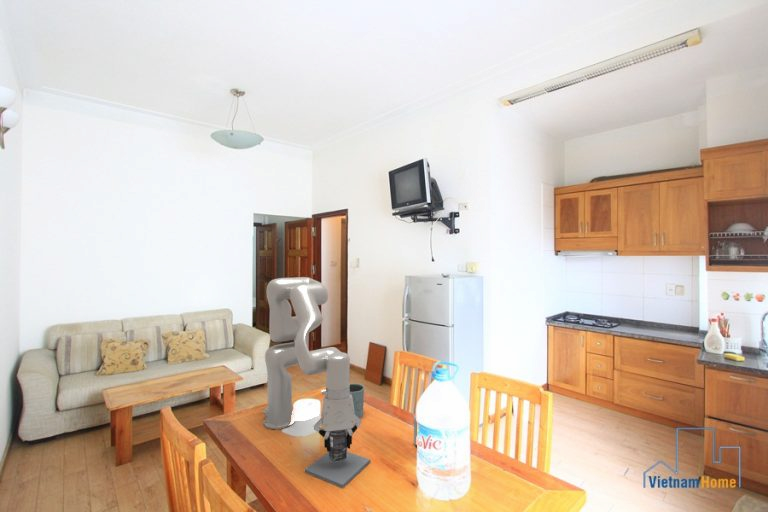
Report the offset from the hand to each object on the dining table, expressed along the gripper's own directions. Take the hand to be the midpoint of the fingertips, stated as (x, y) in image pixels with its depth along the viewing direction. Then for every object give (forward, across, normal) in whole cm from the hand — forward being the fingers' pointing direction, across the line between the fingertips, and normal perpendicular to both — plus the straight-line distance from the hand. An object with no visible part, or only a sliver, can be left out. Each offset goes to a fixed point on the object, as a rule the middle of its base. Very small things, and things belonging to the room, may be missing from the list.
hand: (338, 447), depth 115 cm
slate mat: (+6, 0, 0) cm, 6 cm away
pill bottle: (+3, 0, 0) cm, 3 cm away
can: (+7, +32, +6) cm, 33 cm away
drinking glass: (+7, +11, +35) cm, 38 cm away
